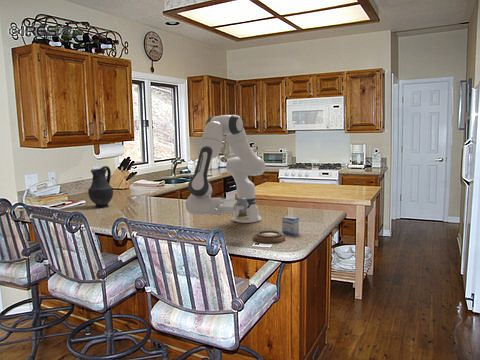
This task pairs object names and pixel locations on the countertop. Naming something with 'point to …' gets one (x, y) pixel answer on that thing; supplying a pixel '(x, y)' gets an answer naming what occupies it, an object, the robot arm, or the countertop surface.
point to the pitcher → (101, 187)
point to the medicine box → (290, 225)
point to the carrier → (269, 236)
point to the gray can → (243, 213)
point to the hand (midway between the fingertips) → (244, 206)
